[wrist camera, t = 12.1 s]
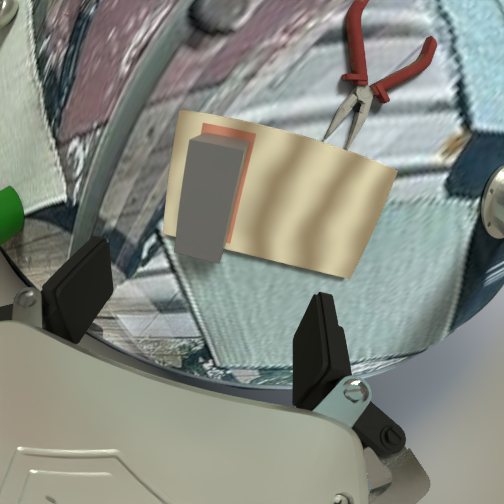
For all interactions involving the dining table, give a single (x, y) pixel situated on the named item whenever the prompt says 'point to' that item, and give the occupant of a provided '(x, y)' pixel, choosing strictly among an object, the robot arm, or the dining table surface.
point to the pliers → (361, 77)
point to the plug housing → (209, 195)
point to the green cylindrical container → (10, 214)
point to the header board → (291, 195)
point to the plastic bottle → (7, 11)
